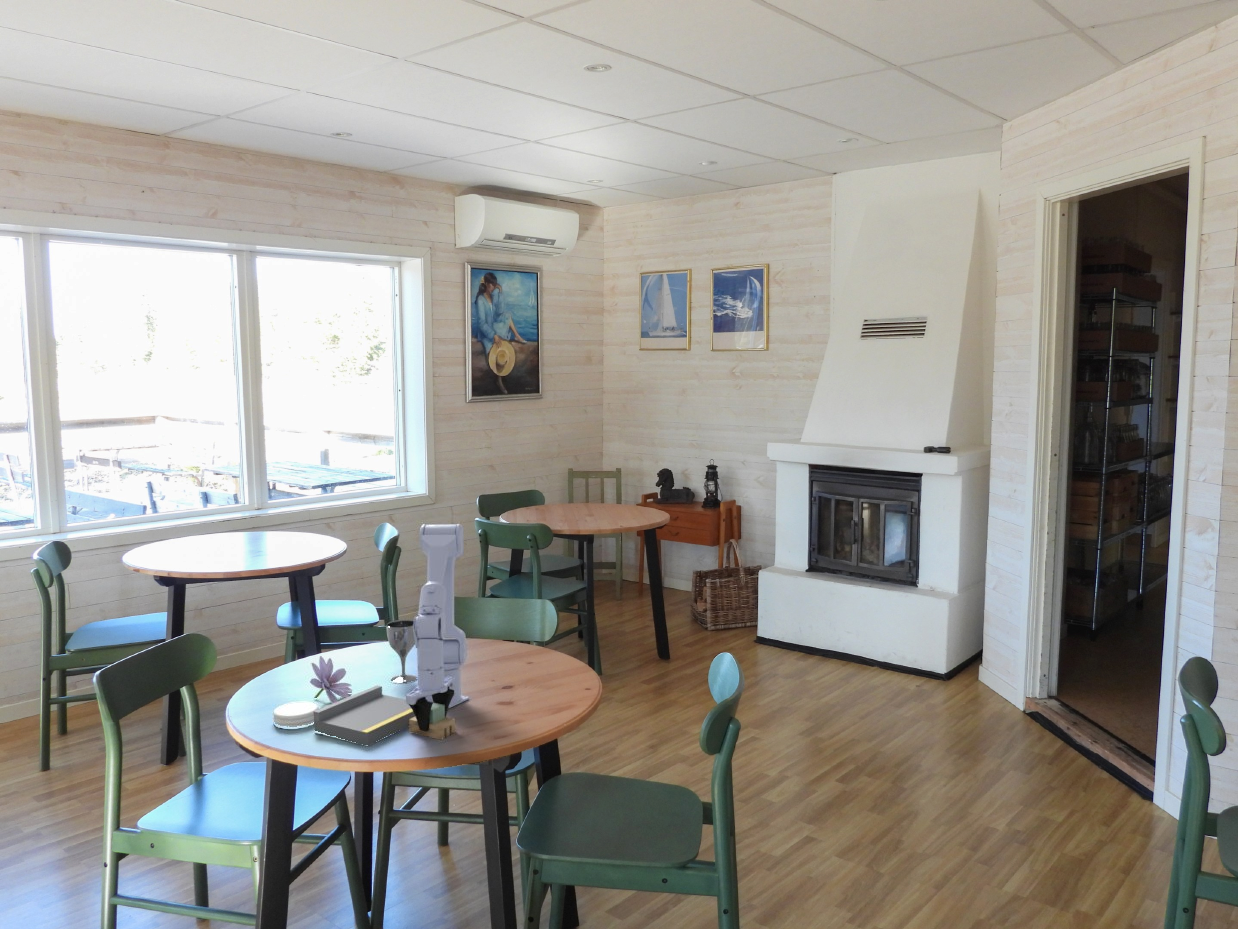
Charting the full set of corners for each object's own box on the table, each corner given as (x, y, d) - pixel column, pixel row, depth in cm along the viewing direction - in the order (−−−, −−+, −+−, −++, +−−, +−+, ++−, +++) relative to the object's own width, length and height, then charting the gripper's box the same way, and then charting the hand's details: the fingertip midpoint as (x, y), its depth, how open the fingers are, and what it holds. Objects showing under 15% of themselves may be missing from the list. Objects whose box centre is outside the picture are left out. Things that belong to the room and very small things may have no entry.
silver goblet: (421, 682, 245) (420, 625, 243) (390, 685, 242) (388, 628, 240) (416, 673, 252) (414, 618, 251) (386, 676, 249) (384, 621, 248)
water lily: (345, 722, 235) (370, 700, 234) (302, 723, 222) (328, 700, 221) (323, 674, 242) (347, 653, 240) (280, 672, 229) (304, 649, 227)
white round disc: (266, 723, 217) (265, 708, 217) (306, 712, 224) (306, 697, 224) (285, 734, 210) (285, 719, 210) (327, 722, 217) (326, 708, 217)
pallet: (409, 732, 210) (409, 719, 210) (424, 725, 215) (424, 712, 214) (440, 739, 206) (440, 726, 206) (455, 732, 210) (455, 719, 210)
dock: (314, 733, 210) (313, 711, 210) (377, 705, 227) (377, 685, 227) (367, 746, 202) (366, 724, 202) (429, 716, 220) (428, 696, 219)
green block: (419, 720, 209) (418, 707, 209) (431, 714, 213) (430, 702, 212) (433, 723, 207) (432, 710, 207) (444, 717, 211) (444, 704, 210)
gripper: (422, 678, 201) (424, 740, 202) (465, 660, 213) (466, 718, 214) (397, 673, 204) (399, 734, 205) (441, 656, 217) (442, 713, 218)
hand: (432, 726), depth 210 cm, fingers closed on pallet, 5 cm apart
